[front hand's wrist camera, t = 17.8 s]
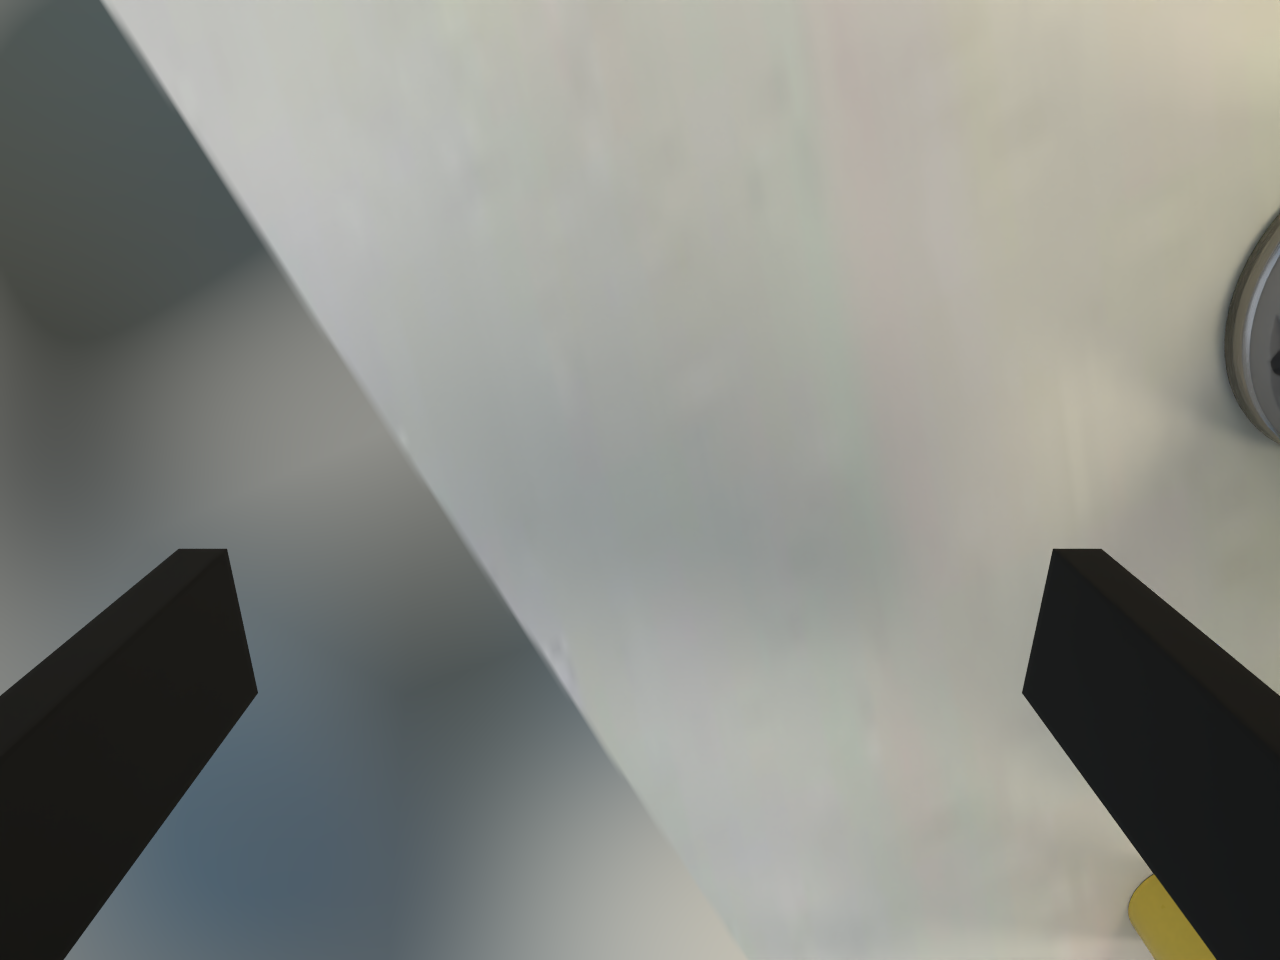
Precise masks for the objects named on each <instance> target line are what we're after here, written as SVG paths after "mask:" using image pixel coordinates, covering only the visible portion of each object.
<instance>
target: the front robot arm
mask: <svg viewBox="0 0 1280 960" xmlns="http://www.w3.org/2000/svg"><path fill="white" fill-rule="evenodd" d="M1225 360H1226V368H1227V374H1228V378H1229V382H1230V385H1231V388H1232V390H1233V393H1234V396H1235V398H1236V400H1237V402H1238V403H1239V405H1240V407H1241V409H1242V410H1243V412H1244V413H1245V415H1246V416H1247V417H1248V419H1249V420H1250V421H1251V422H1252V423H1253V424H1254V425H1255V426H1256V427H1257V428H1258V429H1259V430H1260V431H1261V432H1262V433H1264V434H1265V435H1266V436H1267V437H1269V438H1270V439H1272V440H1274V441H1275V442H1277V443H1278V444H1280V214H1279V215H1278V216H1277V218H1276V219H1275V220H1274V221H1273V223H1272V224H1271V225H1270V226H1269V228H1268V229H1267V231H1266V232H1265V233H1264V235H1263V236H1262V238H1261V239H1260V241H1259V242H1258V244H1257V245H1256V247H1255V249H1254V251H1253V252H1252V254H1251V256H1250V257H1249V259H1248V261H1247V263H1246V265H1245V267H1244V269H1243V271H1242V274H1241V276H1240V278H1239V281H1238V283H1237V286H1236V289H1235V291H1234V294H1233V298H1232V301H1231V305H1230V308H1229V313H1228V318H1227V323H1226V332H1225ZM257 693H258V691H257V686H256V682H255V677H254V672H253V668H252V663H251V658H250V654H249V649H248V645H247V640H246V635H245V631H244V626H243V621H242V617H241V612H240V607H239V603H238V598H237V593H236V589H235V584H234V579H233V575H232V570H231V565H230V561H229V556H228V552H227V549H178V550H177V551H176V552H174V553H173V554H172V555H171V556H169V557H168V558H167V559H166V560H165V561H163V562H162V563H161V564H160V565H159V566H157V567H156V568H155V569H154V570H152V571H151V572H150V573H149V574H148V575H146V576H145V577H144V578H143V579H142V580H140V581H139V582H138V583H137V584H136V585H134V586H133V587H132V588H131V589H129V590H128V591H127V592H126V593H125V594H123V595H122V596H121V597H120V598H119V599H117V600H116V601H115V602H114V603H112V604H111V605H110V606H109V607H108V608H106V609H105V610H104V611H103V612H102V613H100V614H99V615H98V616H97V617H95V618H94V619H93V620H92V621H91V622H89V623H88V624H87V625H86V626H85V627H83V628H82V629H81V630H80V631H78V632H77V633H76V634H75V635H74V636H72V637H71V638H70V639H69V640H68V641H66V642H65V643H64V644H63V645H62V646H60V647H59V648H58V649H57V650H55V651H54V652H53V653H52V654H51V655H49V656H48V657H47V658H46V659H45V660H43V661H42V662H41V663H40V664H38V665H37V666H36V667H35V668H34V669H32V670H31V671H30V672H29V673H28V674H26V675H25V676H24V677H23V678H21V679H20V680H19V681H18V682H17V683H15V684H14V685H13V686H12V687H11V688H9V689H8V690H7V691H6V692H5V693H3V694H2V695H1V696H0V960H64V958H65V957H66V956H67V954H68V953H69V951H70V950H71V949H72V947H73V946H74V945H75V943H76V942H77V941H78V939H79V938H80V936H81V935H82V934H83V932H84V931H85V930H86V928H87V927H88V925H89V924H90V923H91V921H92V920H93V919H94V917H95V916H96V914H97V913H98V912H99V910H100V909H101V908H102V906H103V905H104V904H105V902H106V901H107V899H108V898H109V897H110V895H111V894H112V893H113V891H114V890H115V888H116V887H117V886H118V884H119V883H120V882H121V880H122V879H123V877H124V876H125V875H126V873H127V872H128V871H129V869H130V868H131V866H132V865H133V864H134V862H135V861H136V860H137V858H138V857H139V855H140V854H141V853H142V851H143V850H144V848H145V847H146V846H147V844H148V843H149V842H150V840H151V839H152V838H153V836H154V835H155V833H156V832H157V831H158V829H159V828H160V827H161V825H162V824H163V823H164V821H165V820H166V818H167V817H168V816H169V814H170V813H171V811H172V810H173V809H174V807H175V806H176V805H177V803H178V802H179V801H180V799H181V798H182V796H183V795H184V794H185V792H186V791H187V790H188V788H189V787H190V785H191V784H192V783H193V781H194V780H195V779H196V777H197V776H198V775H199V773H200V772H201V770H202V769H203V768H204V766H205V765H206V763H207V762H208V761H209V759H210V758H211V757H212V755H213V754H214V753H215V751H216V750H217V748H218V747H219V746H220V744H221V743H222V742H223V740H224V739H225V737H226V736H227V735H228V733H229V732H230V731H231V729H232V728H233V726H234V725H235V724H236V722H237V721H238V720H239V718H240V717H241V716H242V714H243V713H244V711H245V710H246V709H247V707H248V706H249V705H250V703H251V702H252V700H253V699H254V698H255V696H256V695H257ZM1022 694H1023V695H1024V696H1025V698H1026V699H1027V700H1028V702H1029V703H1030V705H1031V706H1032V707H1033V709H1034V710H1035V711H1036V713H1037V714H1038V716H1039V717H1040V718H1041V720H1042V721H1043V722H1044V724H1045V725H1046V726H1047V728H1048V729H1049V731H1050V732H1051V733H1052V735H1053V736H1054V737H1055V739H1056V740H1057V742H1058V743H1059V744H1060V746H1061V747H1062V748H1063V750H1064V751H1065V753H1066V754H1067V755H1068V757H1069V758H1070V759H1071V761H1072V762H1073V764H1074V765H1075V766H1076V768H1077V769H1078V770H1079V772H1080V773H1081V775H1082V776H1083V777H1084V779H1085V780H1086V781H1087V783H1088V784H1089V785H1090V787H1091V788H1092V790H1093V791H1094V792H1095V794H1096V795H1097V796H1098V798H1099V799H1100V801H1101V802H1102V803H1103V805H1104V806H1105V807H1106V809H1107V810H1108V812H1109V813H1110V814H1111V816H1112V817H1113V818H1114V820H1115V821H1116V823H1117V824H1118V825H1119V827H1120V828H1121V829H1122V831H1123V832H1124V834H1125V835H1126V836H1127V838H1128V839H1129V840H1130V842H1131V843H1132V844H1133V846H1134V847H1135V849H1136V850H1137V851H1138V853H1139V854H1140V855H1141V857H1142V858H1143V860H1144V861H1145V862H1146V864H1147V865H1148V866H1149V868H1150V869H1151V871H1152V872H1153V873H1154V875H1155V876H1156V877H1157V879H1158V880H1159V882H1160V883H1161V884H1162V886H1163V887H1164V888H1165V890H1166V891H1167V893H1168V894H1169V895H1170V897H1171V898H1172V899H1173V901H1174V902H1175V904H1176V905H1177V906H1178V908H1179V909H1180V910H1181V912H1182V913H1183V914H1184V916H1185V917H1186V919H1187V920H1188V921H1189V923H1190V924H1191V925H1192V927H1193V928H1194V930H1195V931H1196V932H1197V934H1198V935H1199V936H1200V938H1201V939H1202V941H1203V942H1204V943H1205V945H1206V946H1207V947H1208V949H1209V950H1210V952H1211V953H1212V954H1213V956H1214V957H1215V958H1216V960H1280V696H1279V695H1278V694H1277V693H1276V692H1274V691H1273V690H1272V689H1271V688H1269V687H1268V686H1267V685H1266V684H1265V683H1263V682H1262V681H1261V680H1260V679H1259V678H1257V677H1256V676H1255V675H1254V674H1252V673H1251V672H1250V671H1249V670H1248V669H1246V668H1245V667H1244V666H1243V665H1242V664H1240V663H1239V662H1238V661H1237V660H1236V659H1234V658H1233V657H1232V656H1231V655H1229V654H1228V653H1227V652H1226V651H1225V650H1223V649H1222V648H1221V647H1220V646H1219V645H1217V644H1216V643H1215V642H1214V641H1212V640H1211V639H1210V638H1209V637H1208V636H1206V635H1205V634H1204V633H1203V632H1202V631H1200V630H1199V629H1198V628H1197V627H1195V626H1194V625H1193V624H1192V623H1191V622H1189V621H1188V620H1187V619H1186V618H1185V617H1183V616H1182V615H1181V614H1180V613H1178V612H1177V611H1176V610H1175V609H1174V608H1172V607H1171V606H1170V605H1169V604H1168V603H1166V602H1165V601H1164V600H1163V599H1161V598H1160V597H1159V596H1158V595H1157V594H1155V593H1154V592H1153V591H1152V590H1151V589H1149V588H1148V587H1147V586H1146V585H1145V584H1143V583H1142V582H1141V581H1140V580H1138V579H1137V578H1136V577H1135V576H1134V575H1132V574H1131V573H1130V572H1129V571H1128V570H1126V569H1125V568H1124V567H1123V566H1121V565H1120V564H1119V563H1118V562H1117V561H1115V560H1114V559H1113V558H1112V557H1111V556H1109V555H1108V554H1107V553H1106V552H1104V551H1103V550H1102V549H1053V552H1052V556H1051V561H1050V565H1049V570H1048V575H1047V579H1046V584H1045V589H1044V593H1043V598H1042V603H1041V607H1040V612H1039V617H1038V621H1037V626H1036V631H1035V635H1034V640H1033V644H1032V649H1031V654H1030V658H1029V663H1028V668H1027V672H1026V677H1025V682H1024V686H1023V691H1022Z"/></svg>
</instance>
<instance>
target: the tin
mask: <svg viewBox="0 0 1280 960" xmlns="http://www.w3.org/2000/svg"><path fill="white" fill-rule="evenodd" d="M1128 914H1129V919H1130V921H1131V923H1132V925H1133V927H1134V928H1135V930H1136V931H1137V933H1138V934H1139V936H1140V937H1141V939H1142V940H1143V942H1144V943H1145V945H1146V947H1147V948H1148V950H1149V951H1150V953H1151V954H1152V956H1153V957H1154V959H1155V960H1216V958H1215V957H1214V956H1213V954H1212V953H1211V952H1210V950H1209V949H1208V947H1207V946H1206V945H1205V943H1204V942H1203V941H1202V939H1201V938H1200V936H1199V935H1198V934H1197V932H1196V931H1195V930H1194V928H1193V927H1192V925H1191V924H1190V923H1189V921H1188V920H1187V919H1186V917H1185V916H1184V914H1183V913H1182V912H1181V910H1180V909H1179V908H1178V906H1177V905H1176V904H1175V902H1174V901H1173V899H1172V898H1171V897H1170V895H1169V894H1168V893H1167V891H1166V890H1165V888H1164V887H1163V886H1162V884H1161V883H1160V882H1159V880H1158V879H1157V877H1156V876H1155V875H1154V874H1153V875H1152V876H1150V877H1149V878H1147V879H1146V880H1145V881H1144V882H1143V883H1142V884H1141V885H1140V886H1139V887H1138V888H1137V889H1136V891H1135V892H1134V894H1133V896H1132V898H1131V900H1130V903H1129V908H1128Z"/></svg>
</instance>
